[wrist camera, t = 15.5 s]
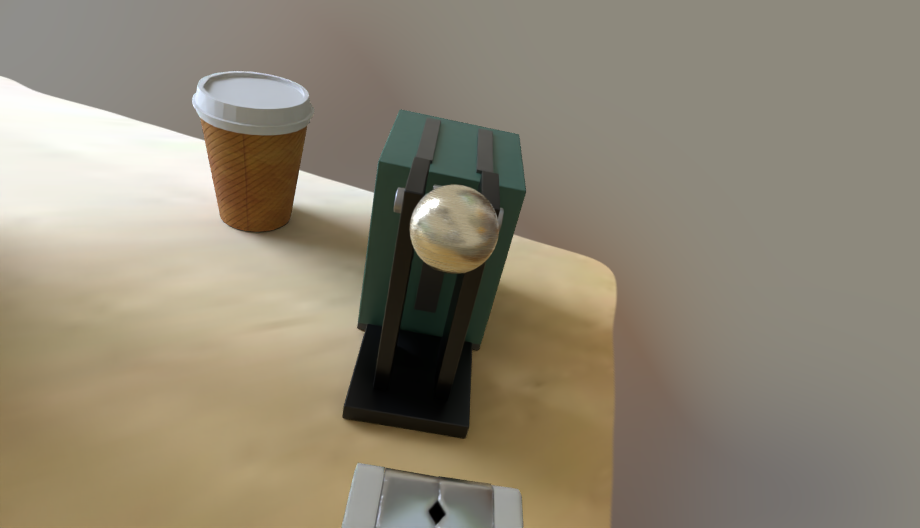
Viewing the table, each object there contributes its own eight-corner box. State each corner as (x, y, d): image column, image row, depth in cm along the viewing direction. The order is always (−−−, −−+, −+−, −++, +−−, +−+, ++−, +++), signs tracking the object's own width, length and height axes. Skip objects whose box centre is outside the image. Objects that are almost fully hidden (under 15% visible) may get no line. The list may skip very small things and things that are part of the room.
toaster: (490, 354, 43) (542, 192, 35) (356, 330, 42) (378, 158, 34) (490, 278, 51) (532, 134, 43) (378, 257, 50) (400, 106, 43)
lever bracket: (465, 439, 36) (531, 233, 27) (342, 418, 35) (368, 201, 26) (469, 353, 42) (522, 166, 34) (365, 334, 42) (392, 139, 33)
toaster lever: (492, 289, 20) (513, 196, 19) (399, 272, 20) (417, 176, 19) (470, 242, 33) (482, 185, 32) (414, 231, 32) (425, 173, 32)
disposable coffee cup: (247, 180, 57) (245, 62, 50) (327, 212, 55) (336, 93, 48) (175, 217, 49) (162, 83, 43) (265, 255, 47) (266, 121, 41)
